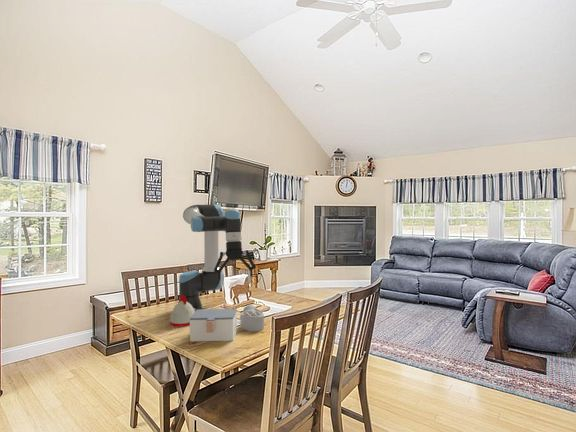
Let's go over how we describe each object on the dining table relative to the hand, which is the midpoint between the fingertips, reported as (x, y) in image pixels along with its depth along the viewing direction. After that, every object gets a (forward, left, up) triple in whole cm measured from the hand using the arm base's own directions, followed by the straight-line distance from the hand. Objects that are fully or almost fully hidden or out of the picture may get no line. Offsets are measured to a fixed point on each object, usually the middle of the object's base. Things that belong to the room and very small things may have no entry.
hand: (235, 285), depth 168 cm
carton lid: (+2, -11, -19) cm, 22 cm away
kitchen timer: (-21, -32, -25) cm, 45 cm away
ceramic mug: (-24, +7, -25) cm, 35 cm away
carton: (0, -11, -25) cm, 27 cm away
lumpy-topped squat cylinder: (-11, +7, -25) cm, 28 cm away
